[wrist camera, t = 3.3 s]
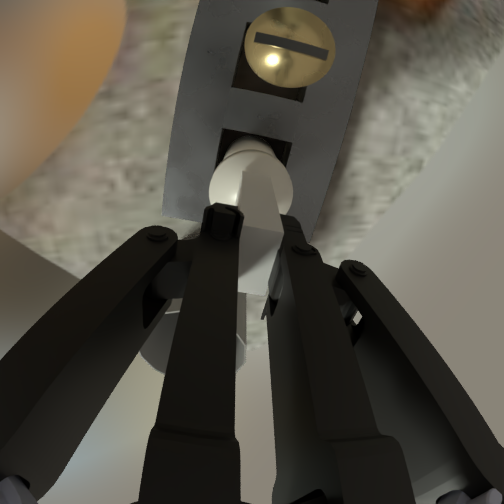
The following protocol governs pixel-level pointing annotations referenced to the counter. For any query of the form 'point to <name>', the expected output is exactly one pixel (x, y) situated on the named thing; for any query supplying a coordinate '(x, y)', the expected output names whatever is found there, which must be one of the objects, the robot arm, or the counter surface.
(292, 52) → the brass slotted knob
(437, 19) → the counter surface
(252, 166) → the knob
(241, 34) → the panel
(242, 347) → the cup
